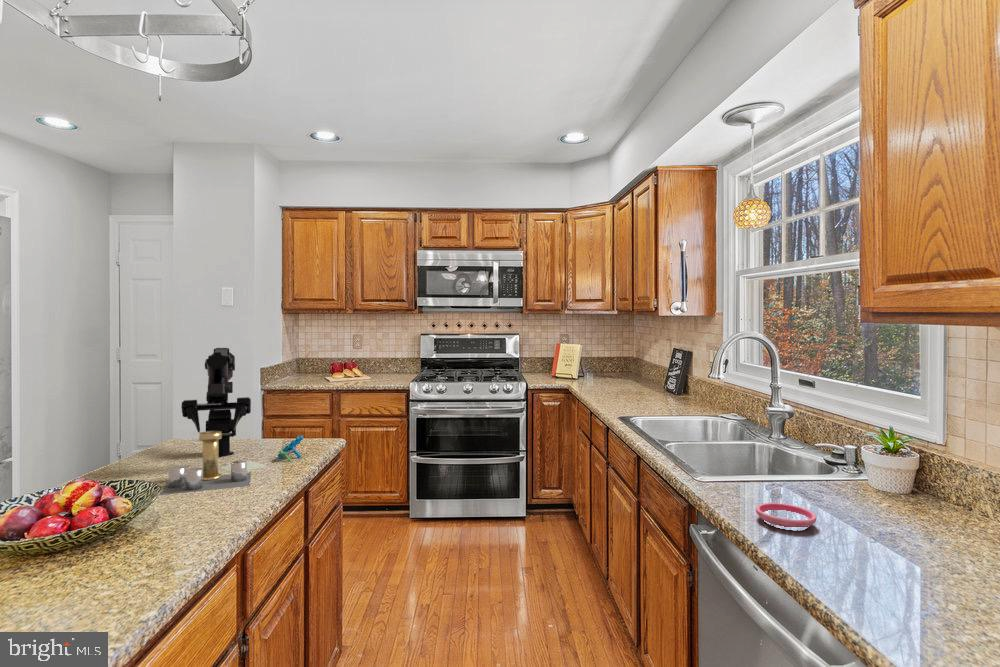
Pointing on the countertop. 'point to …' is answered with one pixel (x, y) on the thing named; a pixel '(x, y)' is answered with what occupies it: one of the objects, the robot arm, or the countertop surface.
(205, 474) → the brass post
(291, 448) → the blue and green figurine
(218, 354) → the robot arm
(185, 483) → the grey peg base
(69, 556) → the countertop surface
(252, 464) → the pad
